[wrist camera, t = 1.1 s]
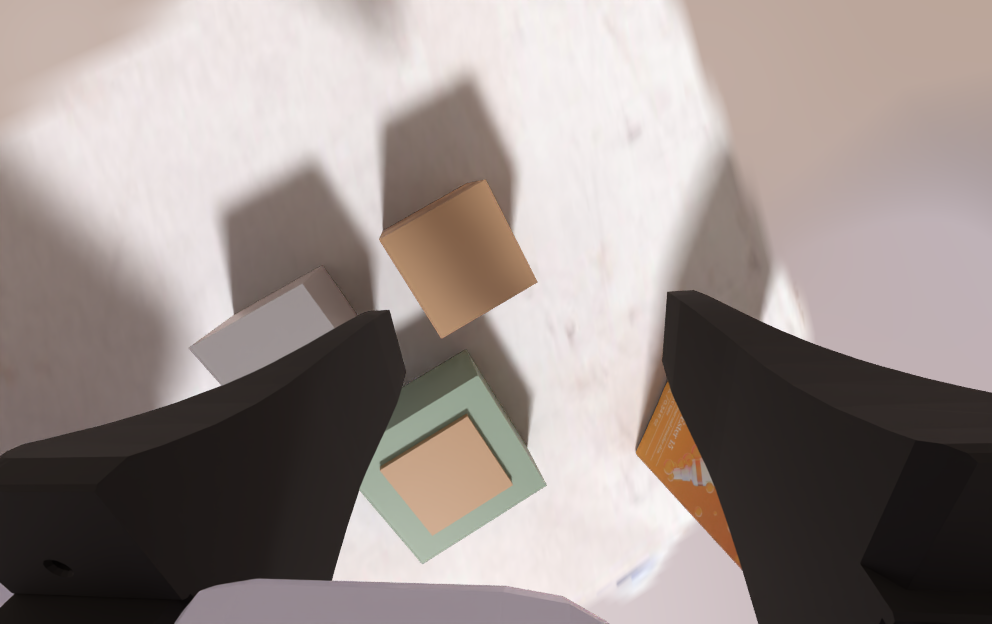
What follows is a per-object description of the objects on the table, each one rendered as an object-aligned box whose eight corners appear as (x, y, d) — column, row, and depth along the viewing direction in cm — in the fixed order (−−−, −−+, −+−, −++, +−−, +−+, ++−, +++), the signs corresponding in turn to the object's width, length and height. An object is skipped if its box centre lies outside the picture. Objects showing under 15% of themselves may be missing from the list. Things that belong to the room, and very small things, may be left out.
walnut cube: (432, 310, 23) (441, 338, 19) (382, 230, 22) (378, 239, 17) (509, 265, 24) (537, 282, 19) (466, 183, 22) (485, 179, 17)
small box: (677, 346, 28) (902, 466, 15) (749, 368, 29) (1002, 490, 17) (631, 454, 29) (802, 642, 17) (703, 468, 31) (905, 647, 19)
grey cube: (296, 390, 23) (269, 440, 18) (234, 314, 21) (188, 348, 16) (377, 342, 23) (372, 380, 18) (322, 264, 21) (302, 283, 17)
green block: (418, 512, 27) (422, 569, 23) (344, 420, 24) (334, 465, 20) (525, 445, 27) (548, 488, 23) (465, 347, 25) (478, 377, 21)
